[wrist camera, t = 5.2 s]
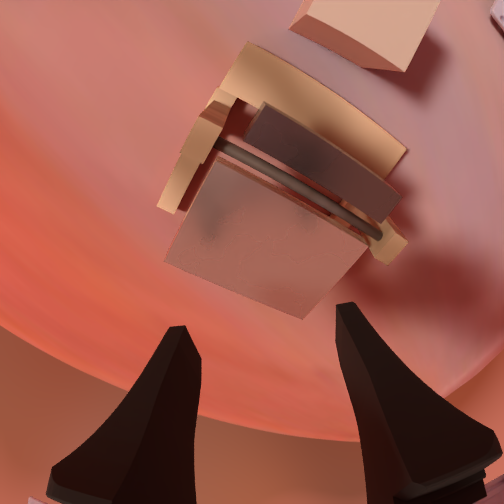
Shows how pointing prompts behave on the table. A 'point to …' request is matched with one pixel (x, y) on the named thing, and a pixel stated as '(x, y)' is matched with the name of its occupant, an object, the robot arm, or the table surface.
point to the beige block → (367, 29)
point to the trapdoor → (278, 220)
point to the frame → (308, 113)
